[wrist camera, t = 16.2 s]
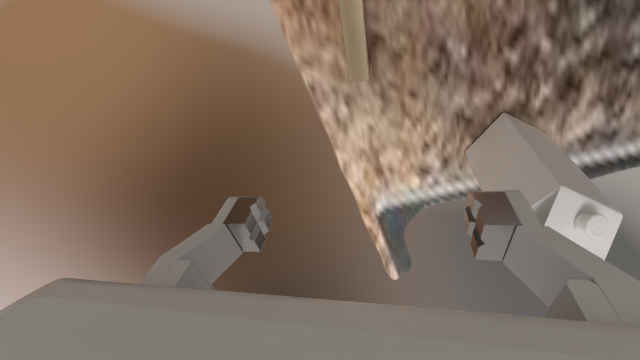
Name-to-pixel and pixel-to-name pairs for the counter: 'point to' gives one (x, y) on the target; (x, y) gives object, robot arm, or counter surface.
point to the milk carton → (544, 182)
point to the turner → (355, 39)
